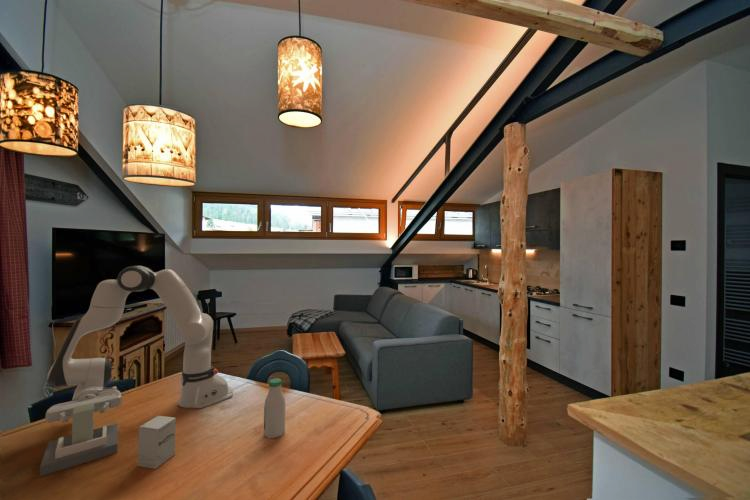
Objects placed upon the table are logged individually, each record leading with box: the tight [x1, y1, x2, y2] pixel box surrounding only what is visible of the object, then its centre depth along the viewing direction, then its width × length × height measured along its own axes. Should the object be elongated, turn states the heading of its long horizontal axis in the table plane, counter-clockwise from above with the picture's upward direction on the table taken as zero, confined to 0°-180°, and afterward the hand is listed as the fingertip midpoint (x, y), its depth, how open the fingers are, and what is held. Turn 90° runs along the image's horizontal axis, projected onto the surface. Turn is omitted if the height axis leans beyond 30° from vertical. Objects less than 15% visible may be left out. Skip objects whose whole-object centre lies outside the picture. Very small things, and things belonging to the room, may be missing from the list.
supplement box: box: [137, 415, 177, 470], centre depth 101 cm, size 7×7×13 cm
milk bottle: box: [263, 377, 286, 439], centre depth 117 cm, size 8×8×20 cm
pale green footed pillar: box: [71, 402, 95, 445], centre depth 105 cm, size 5×6×12 cm
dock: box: [39, 423, 118, 477], centre depth 105 cm, size 18×16×6 cm
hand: (84, 415), depth 107 cm, fingers open, 8 cm apart
